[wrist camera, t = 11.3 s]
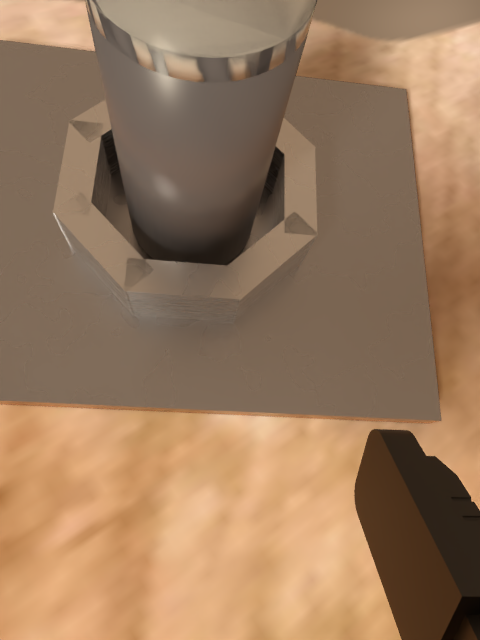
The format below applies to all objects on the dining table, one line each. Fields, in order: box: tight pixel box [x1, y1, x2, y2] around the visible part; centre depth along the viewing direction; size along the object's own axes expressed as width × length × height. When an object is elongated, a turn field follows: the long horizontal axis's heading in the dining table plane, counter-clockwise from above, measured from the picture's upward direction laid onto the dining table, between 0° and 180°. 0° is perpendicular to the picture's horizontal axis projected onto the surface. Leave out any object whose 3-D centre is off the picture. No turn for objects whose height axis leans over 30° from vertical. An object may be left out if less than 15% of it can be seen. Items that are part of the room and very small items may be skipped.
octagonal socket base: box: [0, 40, 441, 423], centre depth 18 cm, size 20×16×4 cm
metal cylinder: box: [85, 0, 317, 265], centre depth 14 cm, size 5×5×10 cm
